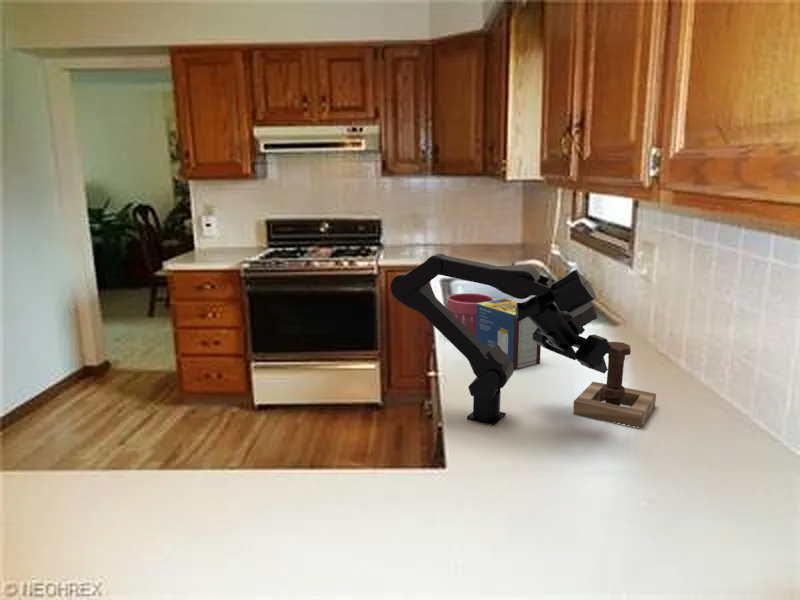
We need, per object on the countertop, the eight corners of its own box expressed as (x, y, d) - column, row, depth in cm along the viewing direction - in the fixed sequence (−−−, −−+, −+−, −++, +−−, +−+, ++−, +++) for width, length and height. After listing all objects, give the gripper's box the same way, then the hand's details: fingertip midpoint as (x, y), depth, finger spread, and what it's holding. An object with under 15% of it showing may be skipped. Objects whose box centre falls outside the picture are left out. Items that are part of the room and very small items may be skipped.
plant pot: (499, 335, 190) (501, 295, 188) (481, 347, 179) (482, 305, 176) (459, 329, 198) (459, 290, 195) (438, 339, 186) (439, 299, 183)
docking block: (640, 429, 124) (641, 415, 123) (573, 413, 132) (573, 401, 131) (654, 406, 135) (656, 393, 135) (592, 393, 143) (592, 381, 142)
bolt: (625, 416, 130) (631, 349, 127) (601, 414, 131) (606, 348, 128) (622, 405, 136) (628, 341, 132) (598, 403, 137) (603, 340, 133)
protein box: (502, 349, 176) (503, 297, 173) (540, 364, 164) (543, 308, 160) (474, 356, 171) (475, 302, 167) (512, 371, 158) (514, 314, 155)
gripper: (607, 299, 114) (646, 347, 121) (546, 281, 131) (584, 325, 137) (570, 344, 113) (612, 390, 119) (514, 320, 129) (553, 362, 136)
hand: (590, 364), depth 128 cm, fingers open, 9 cm apart
